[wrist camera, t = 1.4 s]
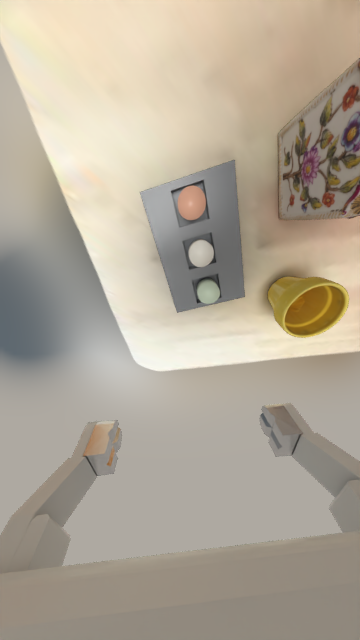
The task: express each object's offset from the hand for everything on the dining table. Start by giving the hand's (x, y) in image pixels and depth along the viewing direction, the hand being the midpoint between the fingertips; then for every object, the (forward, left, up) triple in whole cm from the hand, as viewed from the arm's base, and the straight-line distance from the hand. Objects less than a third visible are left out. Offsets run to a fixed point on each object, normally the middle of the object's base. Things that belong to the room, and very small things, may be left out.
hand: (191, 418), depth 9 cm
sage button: (-4, +3, -26) cm, 27 cm away
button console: (-4, -4, -29) cm, 29 cm away
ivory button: (-4, -4, -26) cm, 27 cm away
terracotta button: (-4, -11, -26) cm, 29 cm away
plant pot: (-20, +9, -29) cm, 36 cm away
